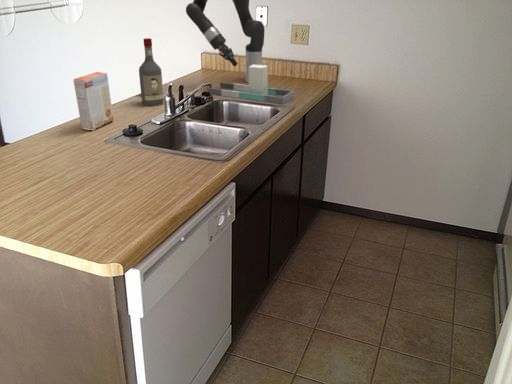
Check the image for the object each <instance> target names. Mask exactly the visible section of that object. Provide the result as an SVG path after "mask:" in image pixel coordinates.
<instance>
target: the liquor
mask: <svg viewBox="0 0 512 384" xmlns="http://www.w3.org/2000/svg"><path fill="white" fill-rule="evenodd" d="M143 47H144V61H143V62H142V64H141V65H140V66H139V68H138V75H139V76H138V77H139V85H140V94H141V95H140V97H141V102H142V104H143V103H144V104H143V105H144V106H146V105H156V106H159V105H158V104H161V105H162V103H163V104H164V102H165V101H164V100H165V99H164V90H163V89H164V88H163V76H162V74H163V73H162V68H161V67H160V66H159V65H158V64H157V62H155V59H154V55H153V40H152V38H150V37H148V38H143Z"/></svg>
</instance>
